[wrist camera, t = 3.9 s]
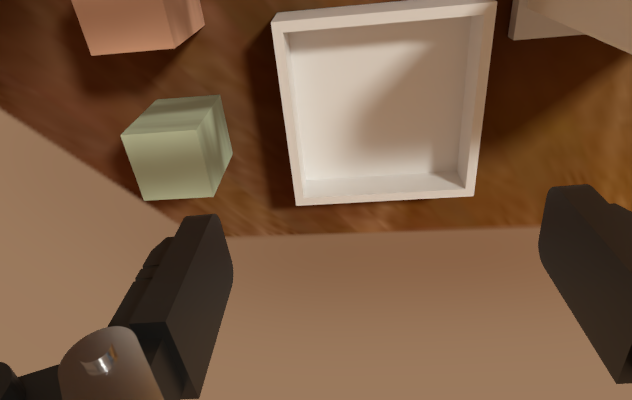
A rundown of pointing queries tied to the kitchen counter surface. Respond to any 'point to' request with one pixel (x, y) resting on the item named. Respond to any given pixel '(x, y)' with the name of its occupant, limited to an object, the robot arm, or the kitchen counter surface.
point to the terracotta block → (137, 24)
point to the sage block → (179, 148)
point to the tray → (384, 98)
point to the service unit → (573, 20)
